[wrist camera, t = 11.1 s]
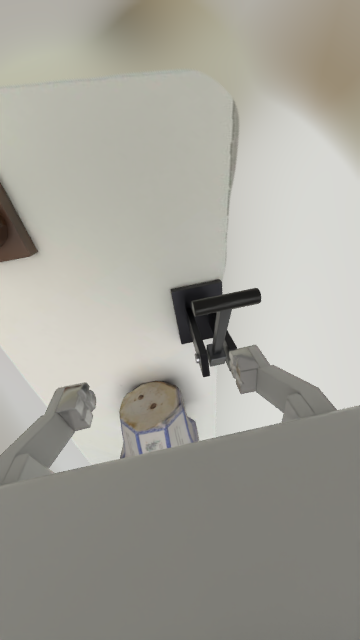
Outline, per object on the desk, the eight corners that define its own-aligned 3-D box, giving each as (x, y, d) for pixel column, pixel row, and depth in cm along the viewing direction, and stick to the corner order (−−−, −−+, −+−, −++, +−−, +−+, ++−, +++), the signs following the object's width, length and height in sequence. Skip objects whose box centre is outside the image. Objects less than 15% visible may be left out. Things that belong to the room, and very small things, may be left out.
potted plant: (94, 446, 34) (138, 545, 44) (198, 419, 35) (218, 521, 45) (112, 382, 50) (141, 465, 60) (183, 366, 52) (199, 449, 62)
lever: (190, 293, 18) (196, 315, 17) (254, 280, 18) (265, 301, 17) (194, 354, 31) (197, 369, 30) (232, 346, 31) (237, 361, 30)
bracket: (170, 289, 36) (180, 336, 25) (219, 279, 36) (252, 321, 25) (180, 340, 43) (192, 396, 31) (222, 332, 43) (249, 384, 31)
